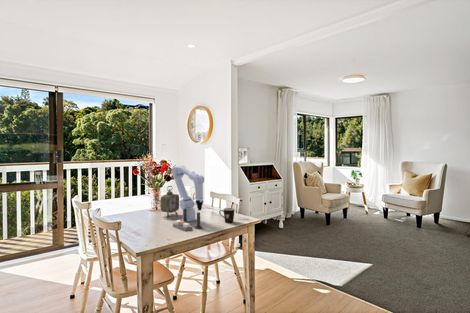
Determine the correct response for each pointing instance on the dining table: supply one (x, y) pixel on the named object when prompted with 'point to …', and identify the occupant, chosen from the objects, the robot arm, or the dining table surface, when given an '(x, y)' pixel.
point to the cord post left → (185, 216)
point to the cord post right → (198, 221)
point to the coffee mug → (228, 214)
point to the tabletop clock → (169, 202)
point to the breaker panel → (182, 226)
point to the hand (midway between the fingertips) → (199, 210)
